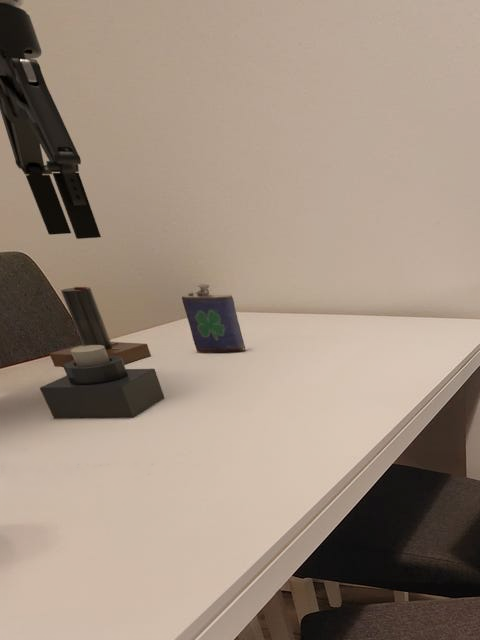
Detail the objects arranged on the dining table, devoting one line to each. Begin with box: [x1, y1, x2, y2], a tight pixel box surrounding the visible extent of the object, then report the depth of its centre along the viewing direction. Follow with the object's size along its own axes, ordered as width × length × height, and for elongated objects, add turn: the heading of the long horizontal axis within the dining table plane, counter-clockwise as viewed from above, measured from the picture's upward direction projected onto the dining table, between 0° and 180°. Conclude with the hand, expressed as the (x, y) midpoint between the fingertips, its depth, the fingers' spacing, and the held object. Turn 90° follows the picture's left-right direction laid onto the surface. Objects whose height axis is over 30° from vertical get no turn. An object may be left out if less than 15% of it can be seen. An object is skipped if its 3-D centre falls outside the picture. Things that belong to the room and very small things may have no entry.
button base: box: [39, 356, 165, 420], centre depth 80 cm, size 11×9×6 cm
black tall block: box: [60, 286, 113, 349], centre depth 100 cm, size 4×4×9 cm
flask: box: [181, 283, 246, 354], centre depth 105 cm, size 9×3×11 cm, turn 85°
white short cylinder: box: [71, 345, 110, 366], centre depth 77 cm, size 4×4×2 cm
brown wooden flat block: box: [49, 341, 152, 367], centre depth 104 cm, size 12×10×2 cm
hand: (73, 236), depth 79 cm, fingers open, 13 cm apart
